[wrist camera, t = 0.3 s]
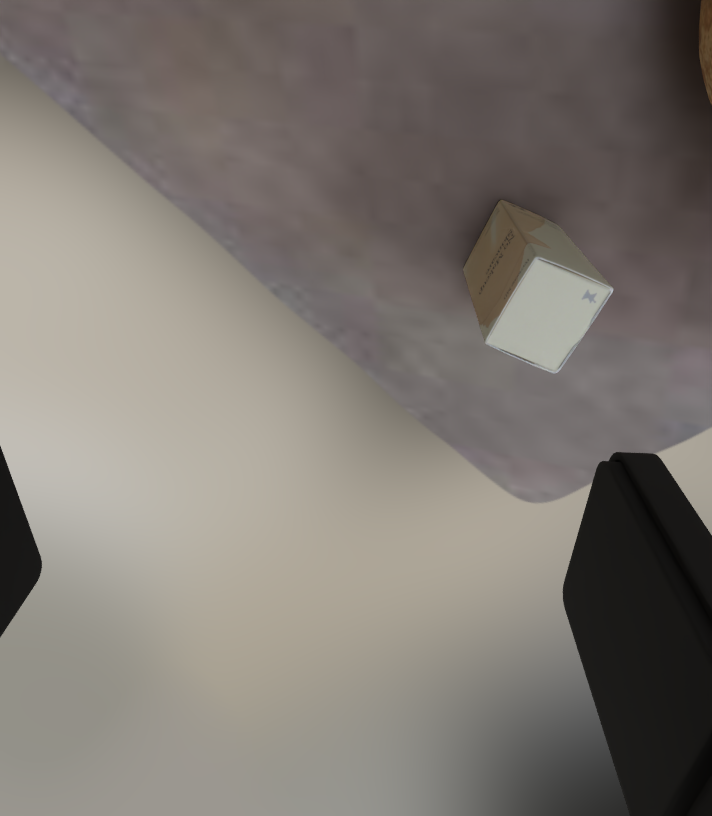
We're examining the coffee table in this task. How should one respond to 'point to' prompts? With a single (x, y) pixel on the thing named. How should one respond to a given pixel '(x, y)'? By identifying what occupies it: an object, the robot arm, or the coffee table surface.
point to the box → (532, 287)
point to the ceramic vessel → (706, 44)
